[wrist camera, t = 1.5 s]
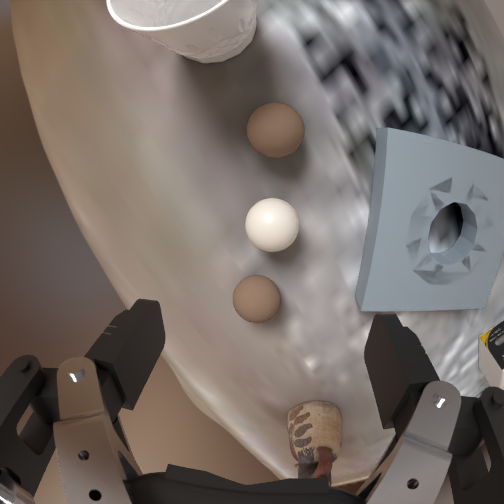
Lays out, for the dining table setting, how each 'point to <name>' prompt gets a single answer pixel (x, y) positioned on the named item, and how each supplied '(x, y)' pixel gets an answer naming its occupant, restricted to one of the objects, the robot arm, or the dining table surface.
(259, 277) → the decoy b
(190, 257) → the dining table surface
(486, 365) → the medicine bottle
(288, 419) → the figurine
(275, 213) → the ball
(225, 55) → the white cup
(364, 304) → the blue-grey square plate
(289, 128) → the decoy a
